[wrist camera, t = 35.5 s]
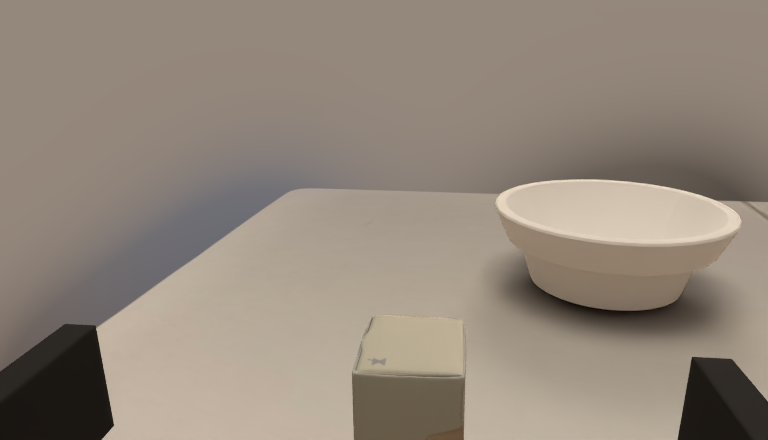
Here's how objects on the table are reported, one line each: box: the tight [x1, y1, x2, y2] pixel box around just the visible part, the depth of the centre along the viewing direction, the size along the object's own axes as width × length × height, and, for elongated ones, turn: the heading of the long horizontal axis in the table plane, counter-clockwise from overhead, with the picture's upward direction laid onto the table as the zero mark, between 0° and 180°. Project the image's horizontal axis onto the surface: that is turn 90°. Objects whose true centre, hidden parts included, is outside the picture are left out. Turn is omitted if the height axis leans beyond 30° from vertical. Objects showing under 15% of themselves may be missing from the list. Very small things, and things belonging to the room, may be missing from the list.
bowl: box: [495, 179, 742, 311], centre depth 54 cm, size 21×21×8 cm
